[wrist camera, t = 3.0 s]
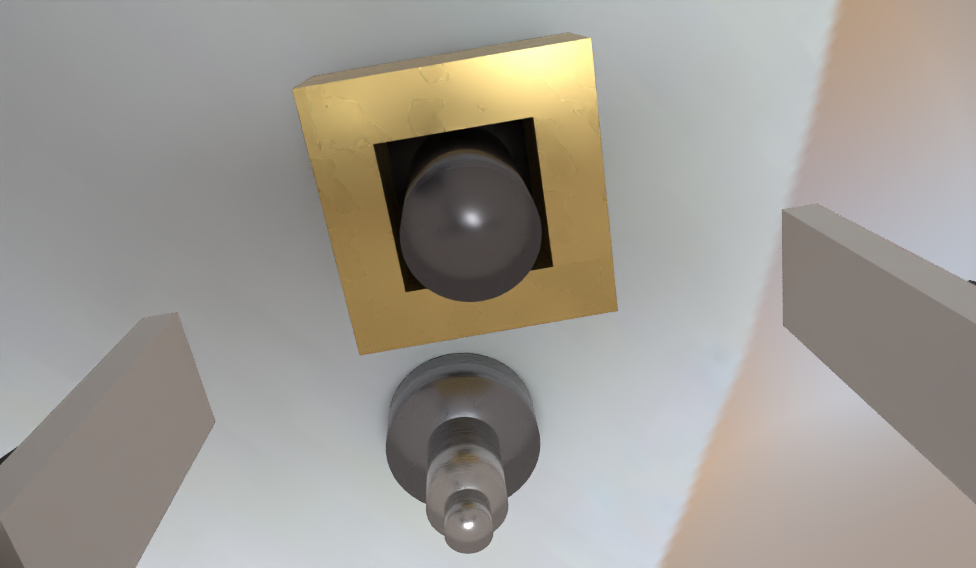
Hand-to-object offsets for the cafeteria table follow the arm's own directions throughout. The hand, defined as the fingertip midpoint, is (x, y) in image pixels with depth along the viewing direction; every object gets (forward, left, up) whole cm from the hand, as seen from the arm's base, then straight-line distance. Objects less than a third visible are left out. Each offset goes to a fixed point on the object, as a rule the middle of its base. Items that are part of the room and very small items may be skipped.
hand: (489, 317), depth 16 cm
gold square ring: (0, 0, -12) cm, 12 cm away
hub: (-2, -12, -15) cm, 19 cm away
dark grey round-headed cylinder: (0, 0, -15) cm, 15 cm away
